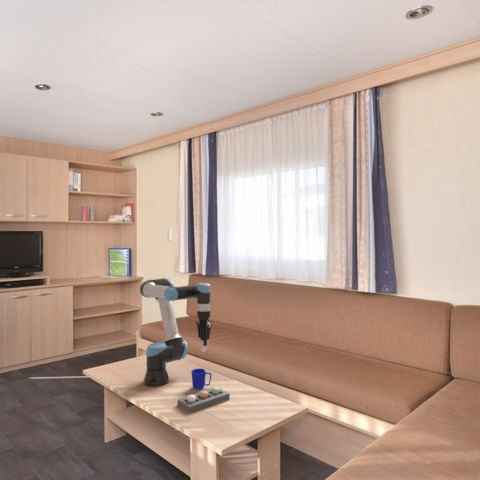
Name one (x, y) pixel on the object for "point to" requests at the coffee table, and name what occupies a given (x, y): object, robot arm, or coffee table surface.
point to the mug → (199, 378)
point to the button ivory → (191, 399)
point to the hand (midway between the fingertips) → (203, 350)
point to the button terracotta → (203, 395)
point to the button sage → (215, 390)
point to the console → (203, 401)
